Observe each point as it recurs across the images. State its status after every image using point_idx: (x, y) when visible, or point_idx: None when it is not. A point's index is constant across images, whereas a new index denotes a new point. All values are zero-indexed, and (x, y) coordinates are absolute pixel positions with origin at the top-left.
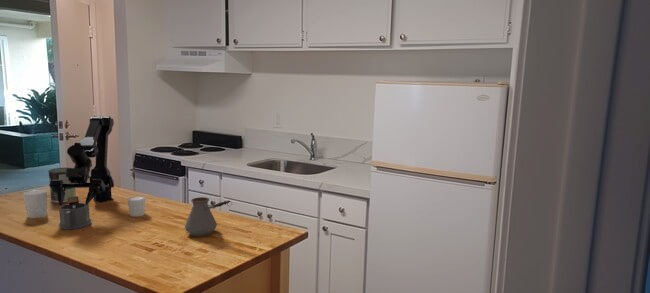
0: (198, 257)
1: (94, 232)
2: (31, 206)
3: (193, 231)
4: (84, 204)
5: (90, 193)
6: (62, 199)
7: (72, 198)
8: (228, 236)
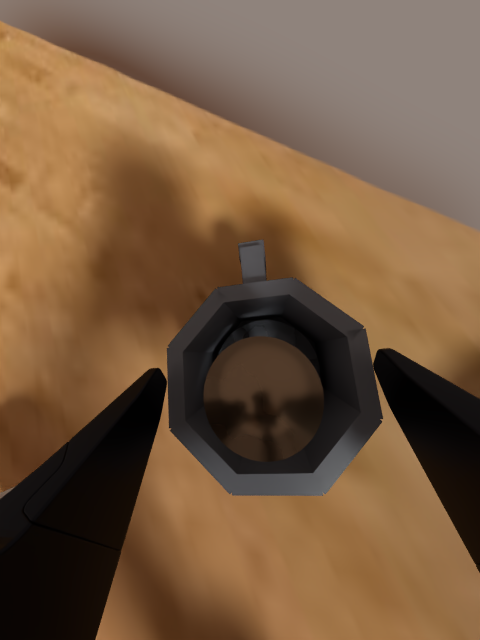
0: None
1: (151, 271)
2: None
3: None
4: (208, 441)
5: (42, 469)
6: (423, 438)
7: (250, 346)
8: None
